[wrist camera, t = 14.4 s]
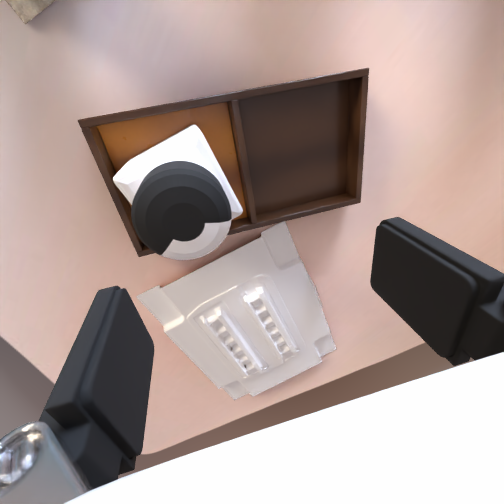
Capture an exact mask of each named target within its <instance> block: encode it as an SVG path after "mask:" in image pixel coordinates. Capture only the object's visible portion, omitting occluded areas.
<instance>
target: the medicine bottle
mask: <svg viewBox="0 0 504 504" xmlns="http://www.w3.org/2000/svg"><path fill="white" fill-rule="evenodd" d="M113 181H114V183H115V185H116V186H117V187H118V188H119V190H120V191H121V192H122V193H123V195H124V196H125V197H126V198H127V200H128V201H129V202H130V204H131V205H132V207H131V218H132V223H133V227H134V229H135V231H136V234H137V235H138V237H139V238H140V240H141V241H142V242H143V243H144V244H145V245H146V246H147V247H148V248H149V249H151V250H152V251H154V252H155V253H157V254H159V255H161V256H164V257H166V258H170V259H175V260H191V259H196V258H200V257H202V256H205V255H207V254H209V253H211V252H212V251H214V250H215V249H216V248H217V247H218V246H219V245H220V244H221V243H222V242H223V241H224V239H225V238H226V236H227V234H228V232H229V229H230V226H231V220H232V219H234V218H236V217H238V216H240V215H241V214H242V212H243V209H242V207H241V205H240V203H239V202H238V200H237V198H236V196H235V194H234V192H233V190H232V188H231V186H230V184H229V183H228V181H227V179H226V177H225V175H224V173H223V171H222V169H221V167H220V166H219V164H218V162H217V160H216V158H215V156H214V154H213V152H212V150H211V149H210V147H209V145H208V143H207V141H206V139H205V137H204V135H203V133H202V132H201V131H200V129H199V128H198V127H197V125H195V124H192V125H190V126H188V127H187V128H185V129H183V130H181V131H179V132H178V133H176V134H174V135H172V136H171V137H169V138H167V139H165V140H163V141H162V142H160V143H158V144H156V145H154V146H153V147H151V148H149V149H147V150H146V151H144V152H142V153H140V154H138V155H137V156H135V157H133V158H131V159H130V160H129V161H128V162H127V163H126V164H125V165H124V166H123V167H122V168H121V169H120V171H119V172H118V173H117V174H116V175H115V176H114V177H113Z"/></svg>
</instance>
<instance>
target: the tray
mask: <svg viewBox="0 0 504 504" xmlns="http://www.w3.org/2000/svg"><path fill="white" fill-rule="evenodd" d="M261 235H262V236H261V237H260V238H258V239H256V240H254V241H252V242H250V243H248V244H246V245H244V246H242V247H240V248H238V249H236V250H234V251H232V252H231V253H228V254H227V255H225V256H223V257H221V258H219V259H217V260H215V261H213V262H211V263H209V264H208V265H205V266H203V267H201V268H200V269H198V270H195V271H194V272H192V273H190V274H188V275H186V276H184V277H182V278H180V279H178V280H176V281H174V282H172V283H170V284H168V285H166V286H164V287H162V288H161V287H160V285H158V286H156V287H154V288H152V289H150V290H148V291H146V292H144V293H142V294H140V295H138V296H136V297H137V298H138V299H139V300H140V302H141V303H142V304H143V305H144V306H145V307H146V308H147V309H148V310H149V311H150V312H151V313H152V314H153V315H154V316H155V317H156V318H157V320H158V321H159V322H160V323H161V324H162V325H163V326H164V333H165V334H166V335H167V336H168V337H169V338H170V339H171V340H172V341H173V342H174V343H175V344H176V345H177V346H178V347H179V348H180V349H181V350H182V351H183V352H184V353H185V354H186V355H187V356H188V357H189V358H190V359H191V360H192V362H194V363H195V364H196V366H197V367H198V368H199V369H200V370H201V371H202V372H203V373H204V374H205V375H206V376H207V377H208V378H209V379H210V380H211V381H212V382H213V383H214V384H215V385H216V386H217V387H218V388H219V389H220V388H223V389H224V390H225V391H226V392H227V393H228V394H229V395H230V396H231V397H232V398H233V399H234V400H236V399H238V398H240V397H242V396H244V395H246V394H248V393H250V394H251V396H252V397H253V396H256V395H258V394H260V393H262V392H264V391H266V390H267V389H270V388H272V387H274V386H276V385H278V384H280V383H282V382H284V381H285V380H288V379H290V378H292V377H294V376H296V375H298V374H300V373H302V372H304V371H306V370H308V369H310V368H312V367H314V366H315V365H317V364H319V363H321V362H322V360H321V357H322V356H324V355H326V354H328V353H330V352H332V351H334V350H336V346H335V344H334V341H333V339H332V336H331V331H330V328H329V326H328V323H327V321H326V318H325V316H324V313H323V311H322V303H321V301H320V298H319V294H318V292H317V289H316V287H315V285H314V283H313V282H312V280H311V279H310V278H311V277H310V276H309V275H308V273H307V271H306V269H305V266H304V264H303V262H302V260H301V259H300V257H299V255H298V252H297V250H296V247H295V245H294V242H293V240H292V237H291V235H290V232H289V230H288V227H287V225H286V223H285V221H283V222H281V223H279V224H277V225H275V226H273V227H271V228H269V229H267V230H265V231H263V232H261ZM231 347H232V350H231ZM244 365H246V368H245V366H244Z"/></svg>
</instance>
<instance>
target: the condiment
mask: <svg viewBox="0 0 504 504" xmlns="http://www.w3.org/2000/svg"><path fill="white" fill-rule="evenodd" d="M54 1H55V0H6V2H7V3H8V4H9V5H10V6H11V7H12V9H13V10H14V11H15V12H16V13H17V15H18V16H19V17H20V18H21V19H22V21H23V22H24V23H25V24H27V23H28V22H29V21H30V20H31V19H33V18H34V17H35V16H36V15H38V14H39V13H40V12H42V11H43V10H44V9H45V8H47V7H48V6H49V5H50V4H52V3H53V2H54Z"/></svg>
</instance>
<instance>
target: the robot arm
mask: <svg viewBox="0 0 504 504" xmlns="http://www.w3.org/2000/svg"><path fill="white" fill-rule="evenodd" d="M370 283H371V286H372V288H373V290H374V291H375V292H376V293H377V294H378V295H379V296H380V297H381V298H382V299H383V300H384V301H385V302H386V303H387V304H388V305H389V306H390V307H391V308H392V309H393V310H394V311H395V312H396V313H397V314H398V315H399V316H400V317H401V318H402V319H403V320H404V321H405V322H406V323H407V324H408V325H409V326H410V327H411V328H412V329H413V330H414V331H415V332H416V333H417V334H418V335H419V336H420V337H421V338H422V339H423V340H424V341H425V342H426V343H427V344H428V345H429V346H430V347H431V348H432V349H433V350H434V351H435V352H436V353H437V354H438V355H440V356H441V357H445V358H446V359H447V360H448V361H450V363H451V364H452V365H454V366H456V365H459V364H462V363H465V362H468V361H469V359H470V357H471V358H473V359H474V360H475V361H473V362H470V363H467V364H464V365H461V366H457V367H454V368H451V369H448V370H445V371H442V372H438V373H435V374H432V375H429V376H426V377H423V378H420V379H416V380H414V381H410V382H407V383H404V384H401V385H398V386H395V387H392V388H388V389H386V390H382V391H379V392H376V393H373V394H370V395H367V396H364V397H361V398H358V399H355V400H352V401H349V402H346V403H342V404H339V405H336V406H333V407H330V408H327V409H324V410H321V411H318V412H315V413H312V414H309V415H305V416H302V417H299V418H297V419H293V420H290V421H287V422H284V423H281V424H278V425H275V426H272V427H269V428H266V429H263V430H260V431H257V432H254V433H251V434H248V435H245V436H242V437H239V438H236V439H233V440H230V441H227V442H224V443H221V444H218V445H215V446H212V447H209V448H206V449H203V450H200V451H196V452H194V453H191V454H188V455H185V456H182V457H179V458H176V459H174V460H171V461H168V462H165V463H162V464H159V465H156V466H154V467H151V468H148V469H145V470H142V471H139V472H137V473H134V474H131V475H128V476H125V477H123V478H120V479H118V475H120V474H123V473H126V472H129V471H132V470H134V469H135V461H136V456H138V455H140V454H141V452H142V448H143V440H144V432H145V423H146V415H147V407H148V398H149V390H150V382H151V374H152V365H153V357H154V344H153V341H152V338H151V337H150V335H149V333H148V331H147V329H146V327H145V325H144V323H143V321H142V319H141V317H140V315H139V313H138V311H137V309H136V307H135V305H134V303H133V301H132V300H131V298H130V296H129V294H128V292H127V290H126V289H124V288H123V289H120V287H119V286H113V287H109V288H105V289H101V290H98V292H97V294H96V296H95V298H94V300H93V303H92V305H91V307H90V309H89V311H88V314H87V316H86V318H85V320H84V322H83V325H82V327H81V329H80V331H79V333H78V336H77V338H76V340H75V342H74V344H73V346H72V348H71V351H70V353H69V355H68V357H67V359H66V362H65V364H64V366H63V368H62V370H61V373H60V375H59V377H58V379H57V381H56V384H55V386H54V388H53V390H52V392H51V395H50V397H49V399H48V401H47V403H46V406H45V408H44V410H43V412H42V414H41V417H40V419H39V421H35V422H30V423H26V424H24V425H22V426H20V427H18V428H16V429H14V430H13V431H11V432H10V433H9V434H7V435H5V436H4V437H3V438H2V439H0V504H504V274H503V273H502V272H500V271H498V270H496V269H494V268H492V267H490V266H489V265H487V264H485V263H483V262H481V261H479V260H478V259H476V258H474V257H472V256H470V255H468V254H466V253H465V252H463V251H461V250H459V249H457V248H455V247H453V246H452V245H450V244H448V243H446V242H444V241H442V240H441V239H439V238H437V237H435V236H433V235H431V234H429V233H428V232H426V231H424V230H422V229H420V228H418V227H416V226H415V225H413V224H411V223H409V222H407V221H405V220H404V219H402V218H399V217H395V218H391V219H387V220H383V221H382V222H381V223H380V225H379V226H378V227H377V229H376V236H375V245H374V254H373V263H372V271H371V280H370Z"/></svg>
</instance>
